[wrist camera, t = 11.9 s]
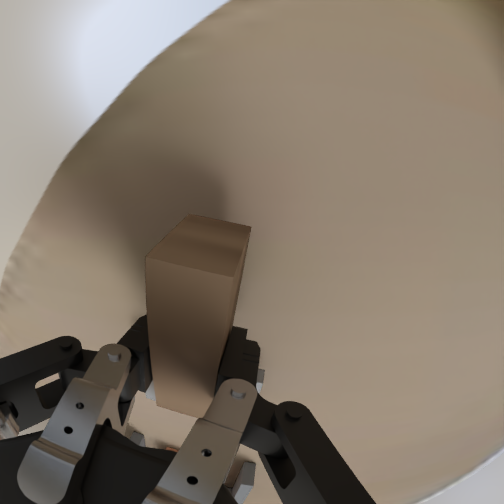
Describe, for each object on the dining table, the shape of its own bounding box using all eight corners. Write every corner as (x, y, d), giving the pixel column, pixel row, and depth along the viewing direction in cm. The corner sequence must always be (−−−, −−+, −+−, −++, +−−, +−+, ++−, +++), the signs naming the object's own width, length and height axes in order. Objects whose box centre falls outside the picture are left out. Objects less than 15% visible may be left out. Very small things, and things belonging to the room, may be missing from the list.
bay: (133, 431, 19) (123, 450, 17) (255, 463, 19) (253, 486, 16) (141, 467, 21) (134, 483, 19) (240, 493, 21) (237, 510, 19)
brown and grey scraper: (142, 205, 11) (86, 241, 8) (305, 238, 11) (312, 294, 7) (151, 387, 17) (131, 431, 13) (249, 412, 17) (240, 462, 13)
